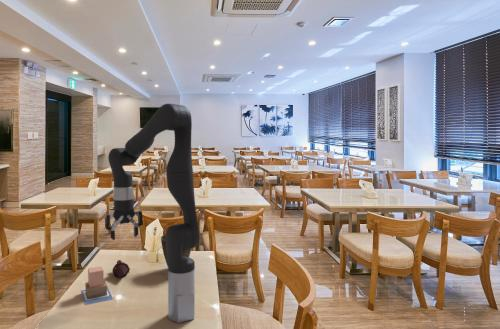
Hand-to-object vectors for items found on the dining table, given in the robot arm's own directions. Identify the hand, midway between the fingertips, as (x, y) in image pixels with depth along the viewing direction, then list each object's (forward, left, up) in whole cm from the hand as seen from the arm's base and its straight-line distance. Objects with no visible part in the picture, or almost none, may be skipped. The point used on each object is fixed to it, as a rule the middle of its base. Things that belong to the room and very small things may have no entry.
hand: (124, 237), depth 144 cm
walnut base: (+3, +11, -22) cm, 25 cm away
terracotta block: (+3, +11, -18) cm, 21 cm away
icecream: (+17, -1, -23) cm, 28 cm away
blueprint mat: (+2, +11, -23) cm, 25 cm away
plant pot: (+13, -26, -23) cm, 37 cm away
